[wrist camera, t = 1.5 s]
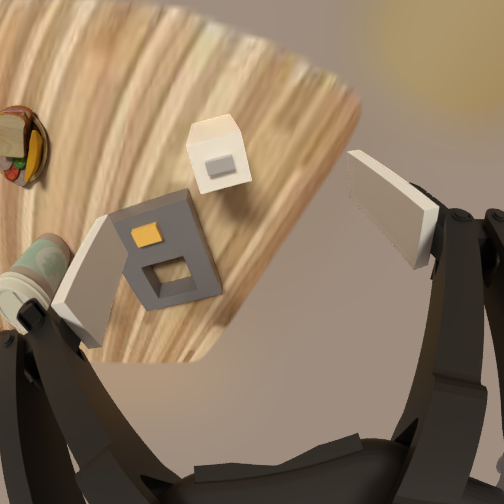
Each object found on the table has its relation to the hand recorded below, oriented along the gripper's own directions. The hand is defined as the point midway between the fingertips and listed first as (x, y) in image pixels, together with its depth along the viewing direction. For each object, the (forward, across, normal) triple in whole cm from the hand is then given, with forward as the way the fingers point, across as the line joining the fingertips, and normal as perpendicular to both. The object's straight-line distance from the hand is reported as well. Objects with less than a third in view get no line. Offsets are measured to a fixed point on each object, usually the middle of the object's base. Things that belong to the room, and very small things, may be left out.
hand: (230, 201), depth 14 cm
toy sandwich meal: (+17, -23, +8) cm, 30 cm away
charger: (+17, 0, 0) cm, 17 cm away
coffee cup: (+17, -26, -7) cm, 32 cm away
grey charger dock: (+17, -10, -12) cm, 23 cm away
